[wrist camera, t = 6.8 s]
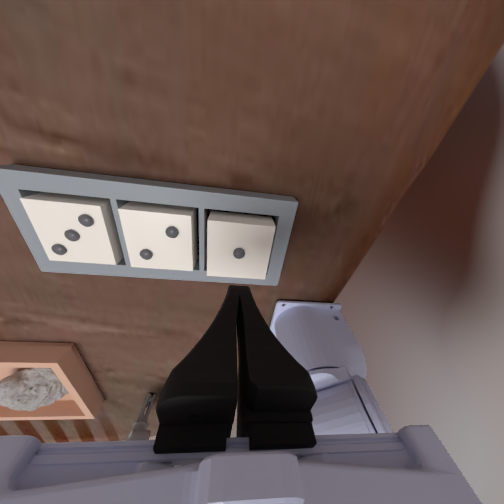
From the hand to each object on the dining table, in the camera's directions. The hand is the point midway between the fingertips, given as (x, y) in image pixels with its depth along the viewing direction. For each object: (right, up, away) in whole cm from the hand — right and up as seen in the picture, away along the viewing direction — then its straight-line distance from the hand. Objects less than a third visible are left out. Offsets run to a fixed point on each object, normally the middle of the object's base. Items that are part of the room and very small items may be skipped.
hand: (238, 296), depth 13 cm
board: (-8, +5, +7) cm, 12 cm away
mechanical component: (-19, -25, +25) cm, 40 cm away
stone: (-34, -18, +19) cm, 43 cm away
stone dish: (-36, -18, +19) cm, 44 cm away
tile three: (-15, +6, +7) cm, 18 cm away
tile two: (-8, +5, +7) cm, 12 cm away
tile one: (-1, +5, +8) cm, 9 cm away
